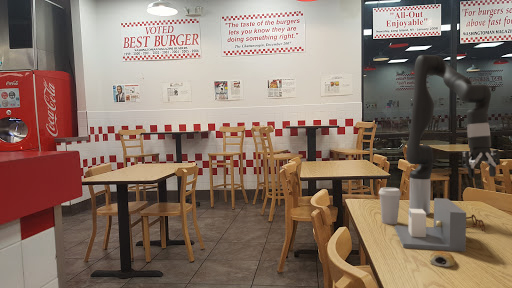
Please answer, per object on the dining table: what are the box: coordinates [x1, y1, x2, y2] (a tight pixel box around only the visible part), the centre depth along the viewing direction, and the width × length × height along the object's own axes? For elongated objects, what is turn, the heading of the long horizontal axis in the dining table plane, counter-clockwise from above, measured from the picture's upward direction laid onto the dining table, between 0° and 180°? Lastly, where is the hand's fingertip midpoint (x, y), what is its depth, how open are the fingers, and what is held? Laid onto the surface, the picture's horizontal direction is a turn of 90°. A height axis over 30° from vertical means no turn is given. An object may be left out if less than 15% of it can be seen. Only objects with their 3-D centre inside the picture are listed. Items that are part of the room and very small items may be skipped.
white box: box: [407, 208, 427, 237], centre depth 143 cm, size 7×5×9 cm
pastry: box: [429, 250, 455, 268], centre depth 119 cm, size 9×7×4 cm
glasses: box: [466, 214, 486, 232], centre depth 157 cm, size 13×13×5 cm
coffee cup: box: [378, 187, 402, 225], centre depth 166 cm, size 10×10×15 cm
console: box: [394, 197, 467, 252], centre depth 142 cm, size 24×20×14 cm
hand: (482, 177), depth 144 cm, fingers open, 8 cm apart
